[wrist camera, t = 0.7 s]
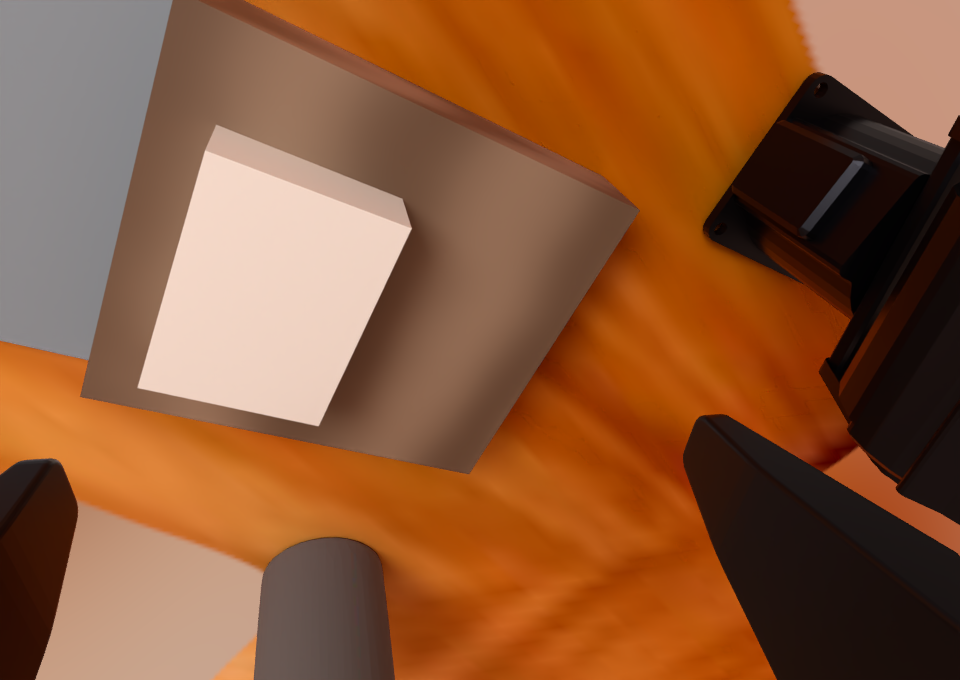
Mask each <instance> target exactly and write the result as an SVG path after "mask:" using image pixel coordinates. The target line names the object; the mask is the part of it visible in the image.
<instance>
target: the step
mask: <svg viewBox="0 0 960 680" xmlns="http://www.w3.org/2000/svg"><path fill="white" fill-rule="evenodd" d="M216 125H218V126H221V127H223V128H226V129H228V130H231V131H233V132H236V133H238V134H241V135H243V136H246V137H248V138H251V139H253V140H256V141H258V142H261V143H263V144H266V145H268V146H271V147H273V148H276V149H279V150H281V151H284V152H286V153H289V154H291V155H294V156H296V157H299V158H301V159H304V160H306V161H309V162H311V163H314V164H316V165H319V166H321V167H324V168H326V169H329V170H331V171H334V172H336V173H339V174H341V175H344V176H346V177H349V178H351V179H354V180H356V181H359V182H361V183H364V184H366V185H369V186H371V187H374V188H376V189H379V190H381V191H384V192H386V193H389V194H392V195H394V196H397V197H399V198H402V199H403V202H404V205H405V208H406V212H407V215H408V218H409V221H410V224H411V228H412V229H411V231H410V233H409V235H408V238H407V240H406V242H405V244H404V246H403V248H402V250H401V252H400V255H399V257H398V259H397V261H396V263H395V265H394V267H393V269H392V272H391V274H390V276H389V278H388V280H387V282H386V284H385V286H384V289H383V291H382V293H381V295H380V297H379V299H378V301H377V303H376V306H375V308H374V310H373V312H372V314H371V316H370V318H369V320H368V322H367V325H366V327H365V329H364V331H363V333H362V335H361V337H360V339H359V342H358V344H357V346H356V348H355V350H354V352H353V354H352V356H351V359H350V361H349V363H348V365H347V367H346V369H345V371H344V373H343V376H342V378H341V380H340V382H339V384H338V386H337V388H336V390H335V393H334V395H333V397H332V399H331V401H330V403H329V405H328V407H327V410H326V412H325V414H324V416H323V418H322V420H321V422H320V424H319V426H315V425H310V424H305V423H301V422H296V421H291V420H286V419H282V418H277V417H272V416H268V415H263V414H258V413H253V412H249V411H244V410H239V409H235V408H230V407H225V406H220V405H216V404H211V403H206V402H202V401H197V400H192V399H187V398H183V397H178V396H173V395H168V394H164V393H159V392H154V391H150V390H145V389H140V388H138V384H139V381H140V377H141V374H142V370H143V367H144V363H145V360H146V356H147V353H148V349H149V345H150V342H151V338H152V335H153V331H154V328H155V324H156V321H157V317H158V314H159V310H160V307H161V303H162V300H163V296H164V293H165V289H166V286H167V282H168V279H169V275H170V272H171V268H172V265H173V261H174V258H175V254H176V251H177V247H178V244H179V240H180V237H181V233H182V230H183V226H184V223H185V219H186V216H187V212H188V209H189V205H190V201H191V198H192V194H193V191H194V187H195V184H196V180H197V177H198V173H199V170H200V166H201V163H202V159H203V156H204V152H205V149H206V147H207V145H208V143H209V140H210V138H211V136H212V133H213V131H214V129H215V127H216ZM639 211H640V210H639V209H638V208H637V207H636V206H635V205H633V204H632V203H631V202H630V201H629V200H628V199H627V198H626V197H625V196H624V195H623V194H622V193H620V192H619V191H618V190H617V189H616V188H615V187H614V186H613V185H612V184H611V183H610V182H609V181H607V180H606V179H605V178H604V177H603V176H601V175H599V174H597V173H595V172H593V171H591V170H589V169H587V168H584V167H582V166H580V165H578V164H576V163H574V162H572V161H570V160H568V159H566V158H564V157H562V156H560V155H558V154H556V153H554V152H552V151H550V150H548V149H546V148H544V147H542V146H540V145H538V144H535V143H533V142H531V141H529V140H527V139H525V138H523V137H521V136H519V135H517V134H515V133H513V132H511V131H509V130H507V129H505V128H503V127H501V126H499V125H497V124H495V123H493V122H491V121H489V120H486V119H484V118H482V117H480V116H478V115H476V114H474V113H472V112H470V111H468V110H466V109H464V108H462V107H460V106H458V105H456V104H454V103H452V102H450V101H448V100H446V99H444V98H442V97H440V96H437V95H435V94H433V93H431V92H429V91H427V90H425V89H423V88H421V87H419V86H417V85H415V84H413V83H411V82H409V81H407V80H405V79H403V78H401V77H399V76H397V75H395V74H393V73H391V72H389V71H386V70H384V69H382V68H380V67H378V66H376V65H374V64H372V63H370V62H368V61H366V60H364V59H362V58H360V57H358V56H356V55H354V54H352V53H350V52H348V51H346V50H344V49H342V48H340V47H337V46H335V45H333V44H331V43H329V42H327V41H325V40H323V39H321V38H319V37H317V36H315V35H313V34H311V33H309V32H307V31H305V30H303V29H301V28H299V27H297V26H295V25H293V24H291V23H288V22H286V21H284V20H282V19H280V18H278V17H276V16H274V15H272V14H270V13H268V12H266V11H264V10H262V9H260V8H258V7H256V6H254V5H252V4H250V3H248V2H246V1H244V0H173V1H172V5H171V9H170V14H169V18H168V22H167V26H166V31H165V35H164V39H163V44H162V48H161V52H160V57H159V61H158V65H157V69H156V74H155V78H154V82H153V87H152V91H151V95H150V99H149V104H148V108H147V112H146V117H145V121H144V125H143V129H142V134H141V138H140V142H139V147H138V151H137V155H136V159H135V164H134V168H133V172H132V177H131V181H130V185H129V189H128V194H127V198H126V202H125V207H124V211H123V215H122V220H121V224H120V228H119V232H118V237H117V241H116V245H115V250H114V254H113V258H112V262H111V267H110V271H109V275H108V280H107V284H106V288H105V292H104V297H103V301H102V305H101V310H100V314H99V318H98V322H97V327H96V331H95V335H94V340H93V344H92V348H91V352H90V357H89V361H88V365H87V370H86V374H85V378H84V382H83V387H82V391H81V395H80V397H83V398H88V399H93V400H98V401H104V402H109V403H114V404H119V405H124V406H129V407H134V408H139V409H144V410H149V411H154V412H159V413H164V414H169V415H174V416H179V417H184V418H189V419H194V420H199V421H204V422H209V423H214V424H219V425H224V426H229V427H234V428H239V429H244V430H249V431H254V432H259V433H264V434H269V435H274V436H279V437H284V438H289V439H295V440H300V441H305V442H310V443H315V444H320V445H325V446H330V447H335V448H340V449H345V450H350V451H355V452H360V453H365V454H370V455H375V456H380V457H385V458H390V459H395V460H400V461H405V462H410V463H415V464H420V465H425V466H430V467H435V468H440V469H445V470H450V471H455V472H460V473H465V474H469V473H470V472H471V470H472V469H473V467H474V466H475V464H476V463H477V461H478V460H479V458H480V456H481V455H482V453H483V452H484V450H485V449H486V447H487V446H488V444H489V443H490V441H491V439H492V438H493V436H494V435H495V433H496V432H497V430H498V429H499V427H500V426H501V424H502V422H503V421H504V419H505V418H506V416H507V415H508V413H509V412H510V410H511V409H512V407H513V405H514V404H515V402H516V401H517V399H518V398H519V396H520V395H521V393H522V392H523V390H524V388H525V387H526V385H527V384H528V382H529V381H530V379H531V378H532V376H533V375H534V373H535V371H536V370H537V368H538V367H539V365H540V364H541V362H542V361H543V359H544V358H545V356H546V354H547V353H548V351H549V350H550V348H551V347H552V345H553V344H554V342H555V341H556V339H557V337H558V336H559V334H560V333H561V331H562V330H563V328H564V327H565V325H566V324H567V322H568V320H569V319H570V317H571V316H572V314H573V313H574V311H575V310H576V308H577V307H578V305H579V303H580V302H581V300H582V299H583V297H584V296H585V294H586V293H587V291H588V290H589V288H590V286H591V285H592V283H593V282H594V280H595V279H596V277H597V276H598V274H599V273H600V271H601V269H602V268H603V266H604V265H605V263H606V262H607V260H608V259H609V257H610V256H611V254H612V252H613V251H614V249H615V248H616V246H617V245H618V243H619V242H620V240H621V239H622V237H623V235H624V234H625V232H626V231H627V229H628V228H629V226H630V225H631V223H632V222H633V220H634V218H635V217H636V215H637V214H638V212H639Z"/></svg>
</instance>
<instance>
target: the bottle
mask: <svg viewBox="0 0 960 680" xmlns="http://www.w3.org/2000/svg"><path fill="white" fill-rule="evenodd" d="M261 586H262V587H261V596H260V608H259V618H258V619H259V620H258V631H257V644H256V657H255V670H254V680H395V676H394V667H393V657H392V648H391V639H390V629H389V620H388V611H387V603H386V594H385V586H384V578H383V570H382V564H381V562H380V559H379V557H378V555H377V554H376V553H375V552H374V551H373V550H372V549H370V548H369V547H368V546H366V545H364V544H362V543H360V542H357V541H353V540H349V539H343V538H321V539H315V540H309V541H306V542H302V543H299V544H297V545H294V546H292V547H290V548H288V549H286V550H284V551H283V552H282V553H280V554H279V555H277V556H276V557H275V558H274V559H273V560H272V561H271V562H270V563H269V564H268V566H267V568H266V570H265V572H264V574H263V579H262V585H261Z"/></svg>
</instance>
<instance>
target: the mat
mask: <svg viewBox="0 0 960 680" xmlns="http://www.w3.org/2000/svg"><path fill="white" fill-rule="evenodd" d="M172 1H173V0H0V341H4V342H9V343H13V344H18V345H22V346H27V347H31V348H36V349H40V350H45V351H49V352H54V353H58V354H63V355H67V356H72V357H76V358H81V359H85V360H89V357H90V352H91V348H92V344H93V340H94V335H95V331H96V327H97V322H98V318H99V314H100V310H101V305H102V301H103V297H104V292H105V288H106V284H107V280H108V275H109V271H110V267H111V262H112V258H113V254H114V250H115V245H116V241H117V237H118V232H119V228H120V224H121V220H122V215H123V211H124V207H125V202H126V198H127V194H128V189H129V185H130V181H131V177H132V172H133V168H134V164H135V159H136V155H137V151H138V147H139V142H140V138H141V134H142V129H143V125H144V121H145V117H146V112H147V108H148V104H149V99H150V95H151V91H152V87H153V82H154V78H155V74H156V69H157V65H158V61H159V57H160V52H161V48H162V44H163V39H164V35H165V31H166V26H167V22H168V18H169V14H170V9H171V5H172Z"/></svg>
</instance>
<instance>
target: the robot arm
mask: <svg viewBox="0 0 960 680" xmlns="http://www.w3.org/2000/svg"><path fill="white" fill-rule="evenodd" d="M819 84H820V88H819V90H818V91H817V92H816V93H815V94H814V90H815V88H816V87H817V86H818V85H819ZM948 136H950V137H951V139H950V140H949V142H948V144H947V146H946V147H945V148H943V147H940V146H938V145H935V144H932V143H930V142H927V141H924V140H922V139H919V138H917V137H914V136H913V135H911V134H910V133H909V132H907V131H906V130H904V129H903V128H902V127H900V126H899V125H898V124H896V123H895V122H893V121H892V120H891V119H889V118H888V117H887V116H885V115H884V114H882V113H881V112H880V111H878V110H877V109H876V108H874V107H873V106H871V105H870V104H869V103H867V102H866V101H865V100H863V99H862V98H861V97H859V96H858V95H856V94H855V93H853V92H852V91H851V90H850V89H848V88H847V87H846V86H844V85H843V84H841V83H840V82H839V81H837V80H836V79H835V78H833V77H832V76H829V75H827V74H823V73H820V72H817V73H813V74H811V75H810V76H808V77H807V78H806V80H805V81H804V82H803V83H802V85H801V86H800V88H799V89H798V90H797V92H796V93H795V95H794V96H793V97H792V99H791V100H790V102H789V103H788V105H787V106H786V107H785V109H784V110H783V112H782V113H781V114H780V116H779V117H778V119H777V120H776V122H775V123H774V124H773V126H772V127H771V129H770V130H769V132H768V133H767V134H766V136H765V137H764V139H763V140H762V141H761V143H760V144H759V146H758V147H757V149H756V150H755V151H754V153H753V154H752V156H751V157H750V158H749V160H748V161H747V163H746V164H745V166H744V167H743V168H742V170H741V171H740V173H739V174H738V175H737V177H736V178H735V180H734V181H733V183H732V184H731V185H730V187H729V188H728V190H727V191H726V192H725V194H724V195H723V197H722V198H721V200H720V201H719V202H718V204H717V205H716V207H715V208H714V209H713V211H712V212H711V214H710V215H709V217H708V218H707V219H706V221H705V223H704V225H703V231H704V234H706V235H707V236H708V237H709V238H710V239H711V240H713V241H715V242H717V243H719V244H721V245H723V246H725V247H727V248H729V249H732V250H734V251H736V252H738V253H740V254H742V255H744V256H746V257H748V258H750V259H752V260H754V261H757V262H759V263H761V264H763V265H765V266H767V267H769V268H771V269H773V270H775V271H777V272H779V273H782V274H784V275H786V276H788V277H790V278H792V279H794V280H796V281H798V282H800V283H802V284H805V285H806V286H807V287H809V288H810V289H811V290H813V291H814V292H815V293H816V294H818V295H819V296H820V297H822V298H823V299H824V300H826V301H827V302H828V303H830V304H831V305H832V306H833V307H835V308H836V309H837V310H839V311H840V312H841V313H843V314H844V315H845V316H847V317H848V318H849V319H850V322H849V324H848V326H847V327H846V329H845V331H844V333H843V335H842V336H841V338H840V340H839V342H838V344H837V346H836V347H835V349H834V351H833V353H832V355H831V357H830V358H826V359H825V361H824V363H823V365H822V367H821V368H820V370H819V374H820V375H821V377H822V379H823V381H824V382H825V384H826V386H827V387H828V389H829V391H830V393H831V394H832V396H833V398H834V400H835V401H836V403H837V405H838V406H839V408H840V410H841V412H842V413H843V415H844V417H845V419H846V420H847V422H848V424H849V425H848V428H847V430H848V432H849V434H850V436H851V438H852V439H853V440H854V441H855V443H856V444H857V445H858V446H859V447H861V449H862V450H863V451H864V452H865V453H866V454H867V455H868V457H869V458H870V460H871V461H872V462H873V463H874V464H875V465H876V466H877V467H878V469H879V470H880V471H881V472H882V473H883V474H884V475H886V476H888V477H889V478H890V479H892V480H893V481H894V482H896V483H897V484H898V485H897V486H896V490H897V491H898V493H900V494H901V495H902V496H904V497H907V498H908V499H911V500H913V501H915V502H917V503H919V504H922V505H924V506H926V507H928V508H930V509H933V510H935V511H937V512H939V513H941V514H943V515H944V516H946V517H948V518H949V519H951V520H953V521H954V522H956V523H958V524H959V525H960V115H959V116H958V118H957V120H956V121H955V123H954V125H953V127H952V128H951V130H950V132H949V134H948ZM720 223H721V226H720V227H719V228H718V229H717V230H715V228H716V226H717V225H718V224H720ZM714 230H715V231H714ZM683 463H684V468H685V471H686V474H687V477H688V479H689V482H690V485H691V487H692V490H693V493H694V496H695V498H696V501H697V504H698V507H699V509H700V512H701V515H702V518H703V520H704V523H705V526H706V528H707V531H708V534H709V537H710V539H711V542H712V544H713V547H714V549H715V552H716V554H717V556H718V559H719V561H720V563H721V565H722V567H723V570H724V572H725V574H726V576H727V578H728V580H729V582H730V584H731V586H732V588H733V590H734V592H735V594H736V596H737V598H738V600H739V602H740V605H741V607H742V609H743V611H744V613H745V615H746V617H747V619H748V621H749V623H750V625H751V627H752V629H753V631H754V633H755V635H756V637H757V639H758V642H759V644H760V646H761V648H762V650H763V652H764V654H765V656H766V658H767V660H768V662H769V664H770V666H771V668H772V670H773V672H774V674H775V677H776V679H777V680H960V556H959V555H958V553H956V552H954V551H953V550H951V549H949V548H948V547H946V546H944V545H943V544H941V543H939V542H938V541H936V540H934V539H933V538H931V537H929V536H927V535H926V534H924V533H923V532H921V531H919V530H918V529H916V528H914V527H913V526H911V525H909V524H908V523H906V522H904V521H903V520H901V519H899V518H898V517H896V516H894V515H892V514H891V513H889V512H888V511H886V510H884V509H883V508H881V507H879V506H877V505H876V504H874V503H873V502H871V501H869V500H867V499H866V498H864V497H863V496H861V495H859V494H858V493H856V492H854V491H853V490H851V489H849V488H848V487H846V486H844V485H842V484H841V483H839V482H838V481H836V480H834V479H833V478H831V477H829V476H828V475H826V474H824V473H823V472H821V471H819V470H818V469H816V468H814V467H813V466H811V465H809V464H808V463H806V462H804V461H803V460H801V459H799V458H798V457H796V456H794V455H793V454H791V453H789V452H788V451H786V450H784V449H782V448H781V447H779V446H777V445H776V444H774V443H772V442H771V441H769V440H767V439H766V438H764V437H762V436H761V435H759V434H757V433H756V432H754V431H752V430H751V429H749V428H747V427H746V426H744V425H742V424H741V423H739V422H737V421H736V420H734V419H732V418H731V417H729V416H727V415H724V414H715V415H703V416H700V417H699V418H698V419H697V420H696V422H695V424H694V427H693V429H692V432H691V434H690V437H689V440H688V442H687V445H686V447H685V450H684V454H683ZM77 518H78V505H77V501H76V498H75V496H74V493H73V491H72V488H71V486H70V483H69V481H68V478H67V476H66V473H65V471H64V468H63V466H62V465H61V463H60V462H59V461H58V460H56V459H35V460H24V461H20V462H18V463H16V464H14V465H13V466H11V467H10V468H8V469H7V470H6V471H5V472H3V473H2V474H1V475H0V680H35V679H36V675H37V673H38V670H39V667H40V665H41V662H42V659H43V656H44V653H45V650H46V647H47V644H48V641H49V638H50V634H51V631H52V627H53V623H54V619H55V615H56V611H57V607H58V602H59V598H60V593H61V589H62V585H63V580H64V576H65V572H66V567H67V563H68V558H69V553H70V549H71V545H72V541H73V536H74V532H75V528H76V523H77Z"/></svg>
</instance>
